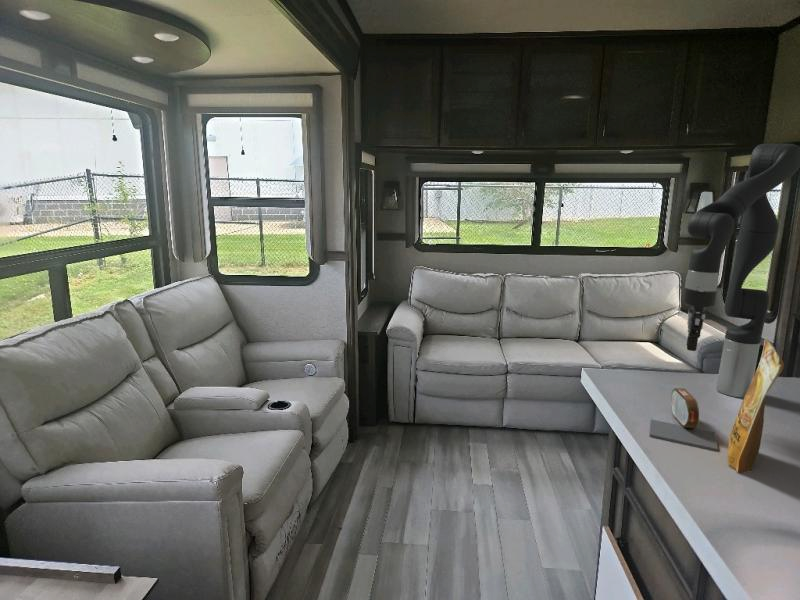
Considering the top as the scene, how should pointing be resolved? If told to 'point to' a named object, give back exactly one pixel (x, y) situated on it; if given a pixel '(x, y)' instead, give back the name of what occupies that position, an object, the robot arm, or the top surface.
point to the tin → (684, 408)
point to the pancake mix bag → (753, 412)
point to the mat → (683, 435)
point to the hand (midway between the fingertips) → (691, 348)
